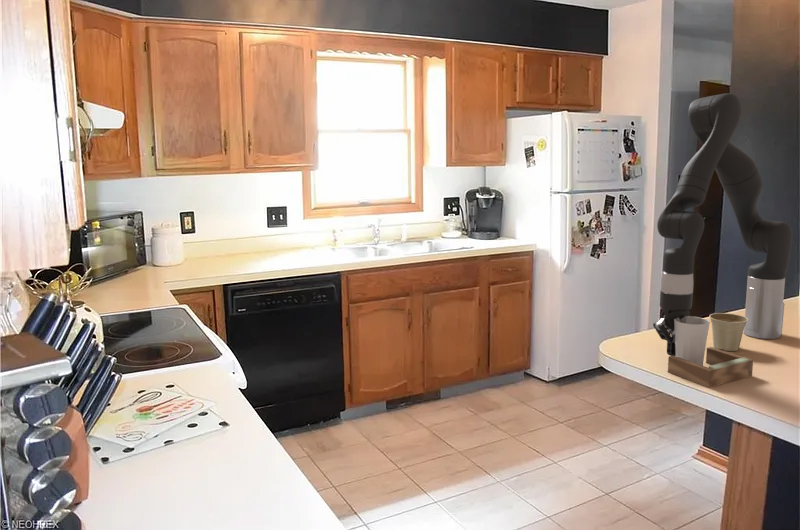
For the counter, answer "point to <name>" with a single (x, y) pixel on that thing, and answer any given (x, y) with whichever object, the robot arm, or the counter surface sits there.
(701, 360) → the cup
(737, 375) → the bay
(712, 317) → the flower pot
